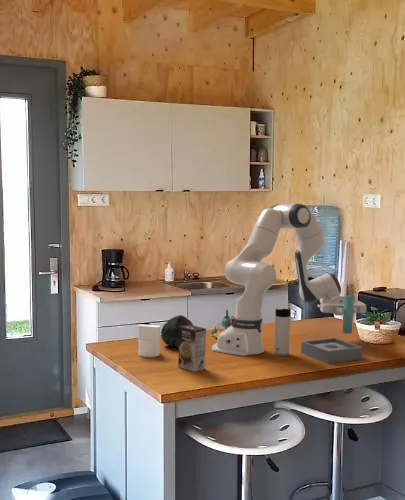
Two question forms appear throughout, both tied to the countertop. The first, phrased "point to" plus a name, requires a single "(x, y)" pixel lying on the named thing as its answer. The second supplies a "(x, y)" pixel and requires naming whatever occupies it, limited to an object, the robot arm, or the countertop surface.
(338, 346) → the plate
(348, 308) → the peg
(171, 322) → the squash
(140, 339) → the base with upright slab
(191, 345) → the coffee box
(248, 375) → the countertop surface
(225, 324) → the frog figurine
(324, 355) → the box
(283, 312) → the travel mug
